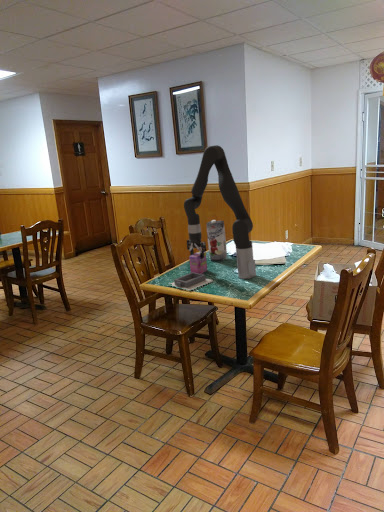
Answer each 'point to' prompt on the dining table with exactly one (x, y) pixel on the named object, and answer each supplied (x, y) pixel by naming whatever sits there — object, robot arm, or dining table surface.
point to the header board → (191, 281)
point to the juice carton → (216, 240)
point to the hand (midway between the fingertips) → (197, 257)
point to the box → (198, 263)
